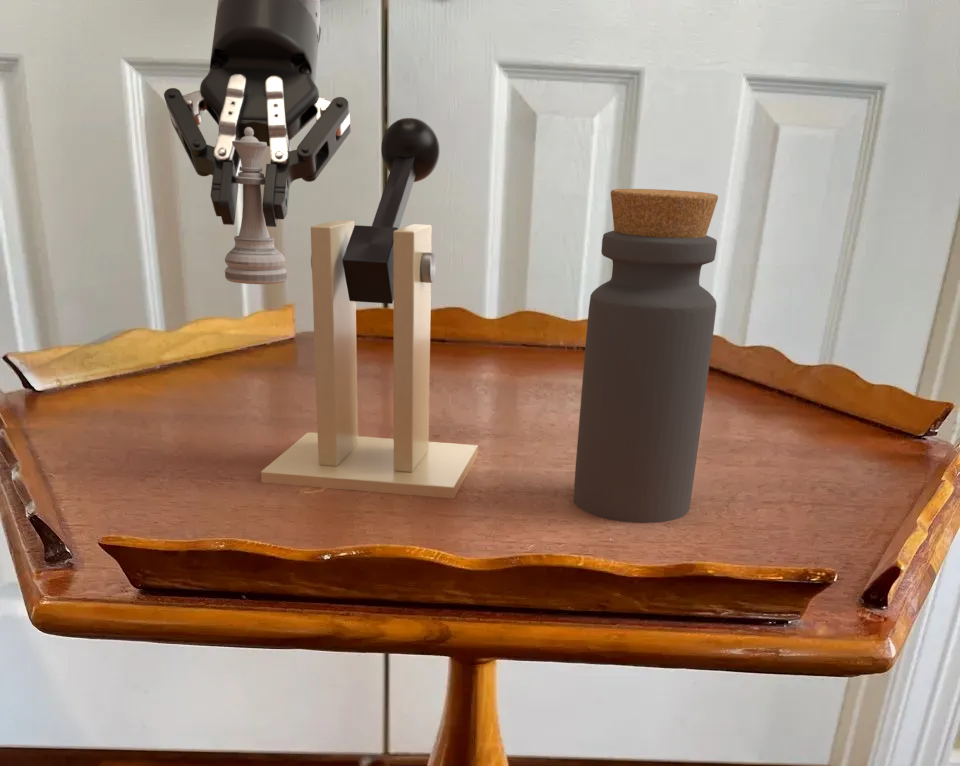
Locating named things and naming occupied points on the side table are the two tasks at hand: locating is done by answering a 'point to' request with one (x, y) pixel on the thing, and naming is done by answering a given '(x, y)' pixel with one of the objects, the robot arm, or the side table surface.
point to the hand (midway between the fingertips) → (248, 216)
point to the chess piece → (253, 224)
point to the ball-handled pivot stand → (337, 446)
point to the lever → (389, 211)
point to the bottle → (647, 359)
